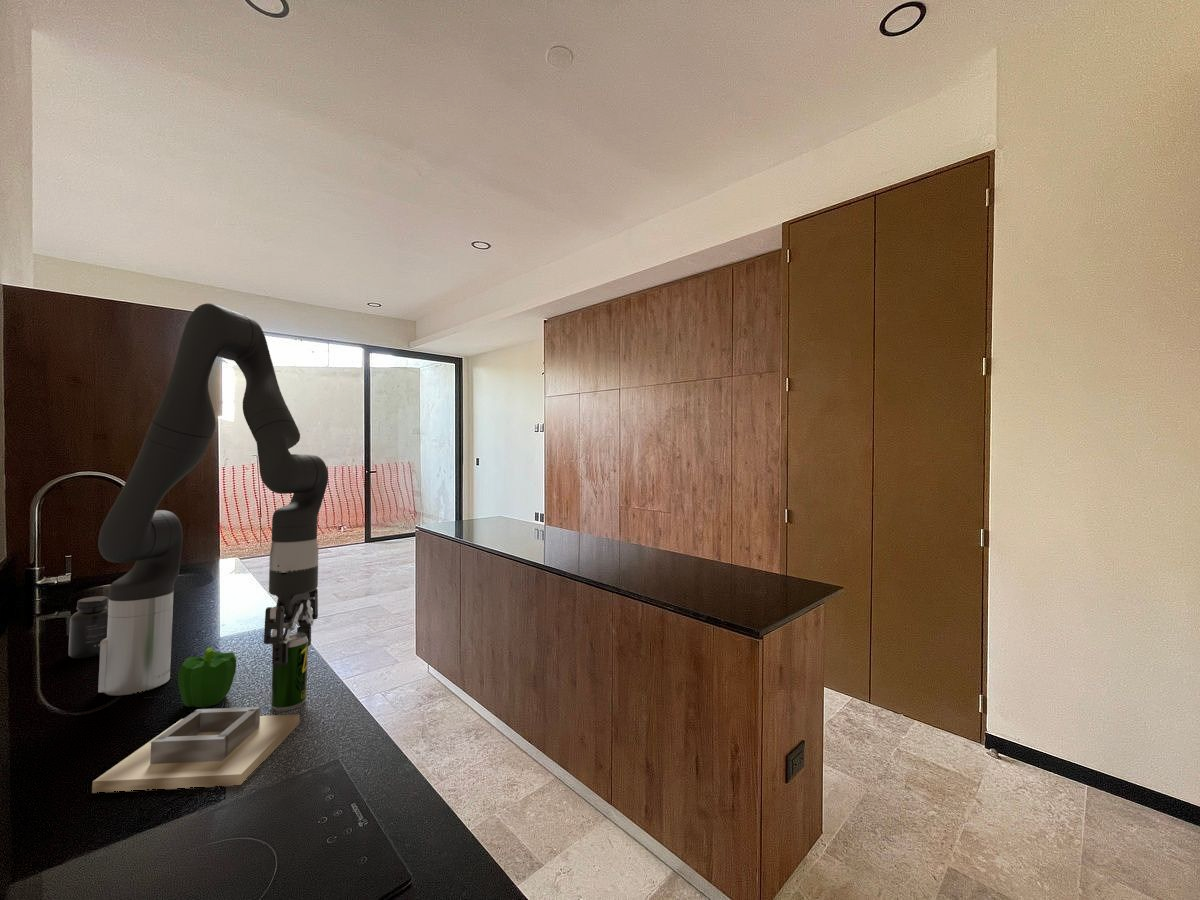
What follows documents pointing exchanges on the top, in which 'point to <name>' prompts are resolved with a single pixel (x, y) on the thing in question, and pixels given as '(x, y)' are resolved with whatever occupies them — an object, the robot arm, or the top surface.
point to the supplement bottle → (88, 627)
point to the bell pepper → (206, 678)
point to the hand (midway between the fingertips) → (292, 655)
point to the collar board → (201, 751)
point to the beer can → (291, 675)
